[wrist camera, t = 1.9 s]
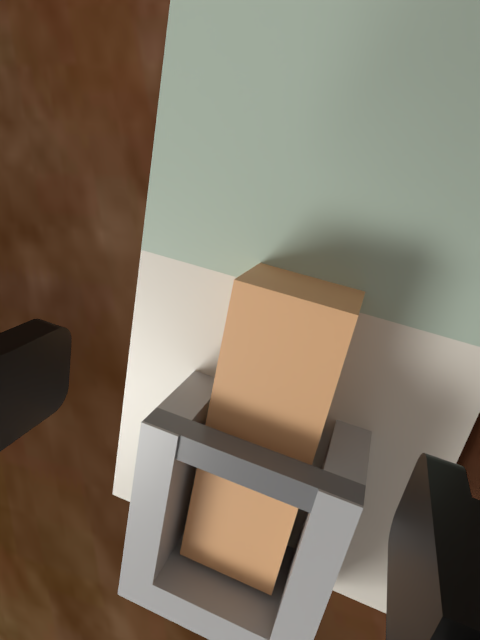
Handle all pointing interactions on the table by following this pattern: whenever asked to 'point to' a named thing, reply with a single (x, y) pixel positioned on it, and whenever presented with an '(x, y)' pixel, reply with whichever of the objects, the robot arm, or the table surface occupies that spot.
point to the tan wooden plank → (268, 411)
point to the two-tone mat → (312, 260)
